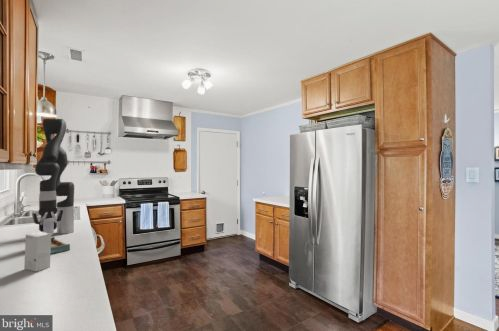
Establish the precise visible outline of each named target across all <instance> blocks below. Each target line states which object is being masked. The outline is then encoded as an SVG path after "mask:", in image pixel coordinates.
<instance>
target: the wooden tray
mask: <svg viewBox="0 0 499 331" xmlns="http://www.w3.org/2000/svg"><path fill="white" fill-rule="evenodd" d="M70 250H71V244H70V243H68V244H67V243H64V242H63V241H60V240H58V239H56V237H53V236H51V254H50V255H54V254H55V255H56V254H58V253H63V252H68V251H70Z"/></svg>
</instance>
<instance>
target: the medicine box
mask: <svg viewBox="0 0 499 331" xmlns="http://www.w3.org/2000/svg"><path fill="white" fill-rule="evenodd" d="M54 231H55V230H54V220H53V218H45V219H44V220H43V232H45V233H49V234H51V236H53V235H54V233H55V232H54Z"/></svg>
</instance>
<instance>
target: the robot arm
mask: <svg viewBox="0 0 499 331" xmlns="http://www.w3.org/2000/svg"><path fill="white" fill-rule="evenodd" d="M42 128H43V133H44V138H45V141H46V144H45V145H44V147H43V150H42V155H41V158H40V159H39V160H38V162H37V163H36V165H35V169H34V171H35V173H36V175H38V176H41V177H44V176H45V177H46V176H50V178H47V179H44V180H43V179H42V180H41V181H39V193H38V194H39V195H38V203H39V204H38V205H39V206H38V211H37V212H32V213H31V216H32V217H31V218H32V219H33V223H34V224H35V225H38V231H39V232H43V220H44V219H45V218H53V220H54V231H55V230H56V234H57V235H65V234H71V233H73V232H75V227H74V226H75V219H74V218H75V215H74V214H75V212H74V211H75V210H74V207H75V206H74V203H75V184H74V182H73V181H63V182H62V181H61V177H62V174H63V172H64V171H65V169H66V168H67V166H68V164H69V162H68V155H67V152H66V151H65V149H64V148H63V147H62V145H61V144H62V142H63V140H64V137H65V134H66V133H67V122H66V120H65V119H63V118H44V119H43V120H42ZM54 135H55V136H54ZM57 197H66V198H65V199H63V200H61V201H57ZM38 216H40V218H38ZM38 219H39V220H38Z"/></svg>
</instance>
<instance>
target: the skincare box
mask: <svg viewBox="0 0 499 331" xmlns="http://www.w3.org/2000/svg"><path fill="white" fill-rule="evenodd" d="M51 237H52V235H51V234H49V233H45V232H41V231H37V232H32V233H26V234H25V242H24V243H25V246H24V247H25V248H24V263H23V264H24V266H23V268H24V270H27V271H32V272H40V271H42V270H46V269H48V268H51V255H52V254H51Z"/></svg>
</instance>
